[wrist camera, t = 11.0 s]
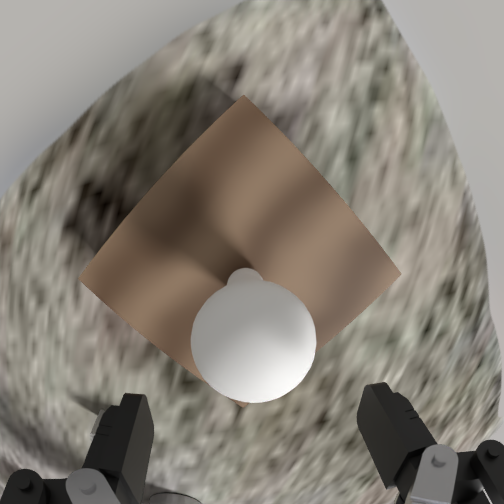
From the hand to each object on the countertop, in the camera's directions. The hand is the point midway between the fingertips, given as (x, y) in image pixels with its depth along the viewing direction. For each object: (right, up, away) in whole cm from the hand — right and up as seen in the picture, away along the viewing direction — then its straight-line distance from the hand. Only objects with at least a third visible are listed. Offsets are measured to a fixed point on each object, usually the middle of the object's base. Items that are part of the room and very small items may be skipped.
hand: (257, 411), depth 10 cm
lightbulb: (-1, +4, +13) cm, 13 cm away
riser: (-1, +5, +17) cm, 18 cm away
